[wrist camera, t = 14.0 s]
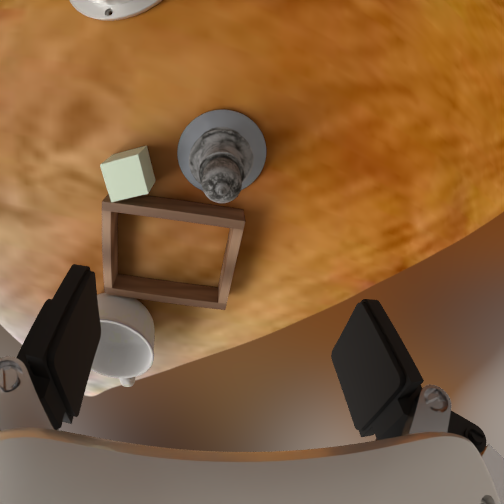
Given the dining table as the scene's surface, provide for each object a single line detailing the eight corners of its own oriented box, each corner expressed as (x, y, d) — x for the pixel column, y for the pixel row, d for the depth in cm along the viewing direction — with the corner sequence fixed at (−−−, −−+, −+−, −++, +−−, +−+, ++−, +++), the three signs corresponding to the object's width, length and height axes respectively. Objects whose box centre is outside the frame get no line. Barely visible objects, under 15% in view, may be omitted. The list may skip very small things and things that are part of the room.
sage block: (112, 154, 30) (99, 164, 27) (147, 145, 30) (137, 154, 27) (122, 188, 32) (111, 202, 29) (155, 180, 32) (148, 193, 29)
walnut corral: (110, 191, 32) (102, 201, 29) (243, 209, 35) (245, 221, 32) (110, 278, 38) (104, 293, 35) (224, 294, 41) (225, 309, 38)
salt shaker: (205, 115, 29) (196, 136, 18) (259, 137, 30) (282, 170, 20) (183, 167, 31) (165, 216, 21) (235, 187, 33) (244, 244, 23)
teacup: (83, 274, 37) (62, 315, 30) (161, 285, 39) (152, 330, 32) (94, 345, 44) (82, 385, 37) (160, 355, 46) (155, 397, 39)
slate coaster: (185, 103, 28) (185, 103, 28) (274, 118, 30) (275, 119, 29) (172, 186, 33) (171, 188, 32) (255, 198, 34) (255, 200, 34)
